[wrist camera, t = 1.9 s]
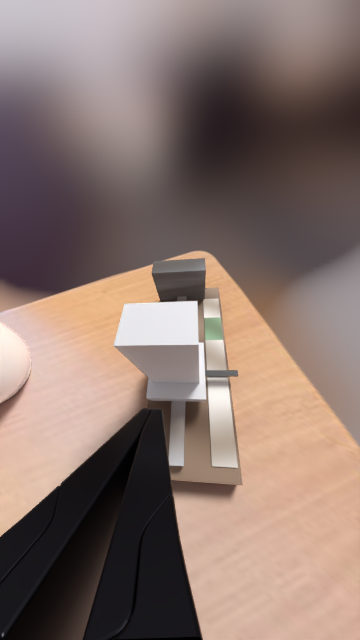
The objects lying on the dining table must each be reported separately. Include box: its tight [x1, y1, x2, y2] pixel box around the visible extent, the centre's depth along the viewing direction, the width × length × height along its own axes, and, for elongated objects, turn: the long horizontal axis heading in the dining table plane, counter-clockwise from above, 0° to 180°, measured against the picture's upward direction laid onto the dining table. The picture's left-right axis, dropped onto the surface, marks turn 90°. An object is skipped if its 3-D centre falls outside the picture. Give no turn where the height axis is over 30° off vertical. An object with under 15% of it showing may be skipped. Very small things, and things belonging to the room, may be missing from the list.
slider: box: [114, 301, 238, 402], centre depth 12 cm, size 5×8×10 cm, turn 88°
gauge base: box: [148, 258, 242, 485], centre depth 17 cm, size 20×8×6 cm, turn 178°
